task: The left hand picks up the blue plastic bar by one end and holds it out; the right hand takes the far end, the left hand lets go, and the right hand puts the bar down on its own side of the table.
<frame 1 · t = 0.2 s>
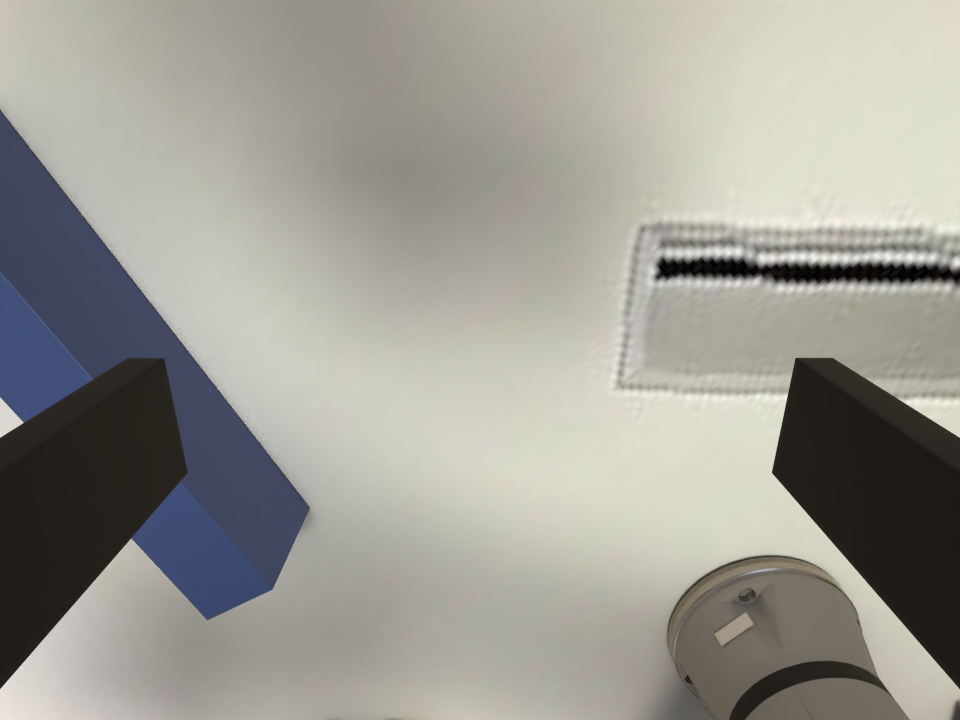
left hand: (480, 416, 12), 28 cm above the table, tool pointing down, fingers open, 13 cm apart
bar: (140, 346, 41), on the table
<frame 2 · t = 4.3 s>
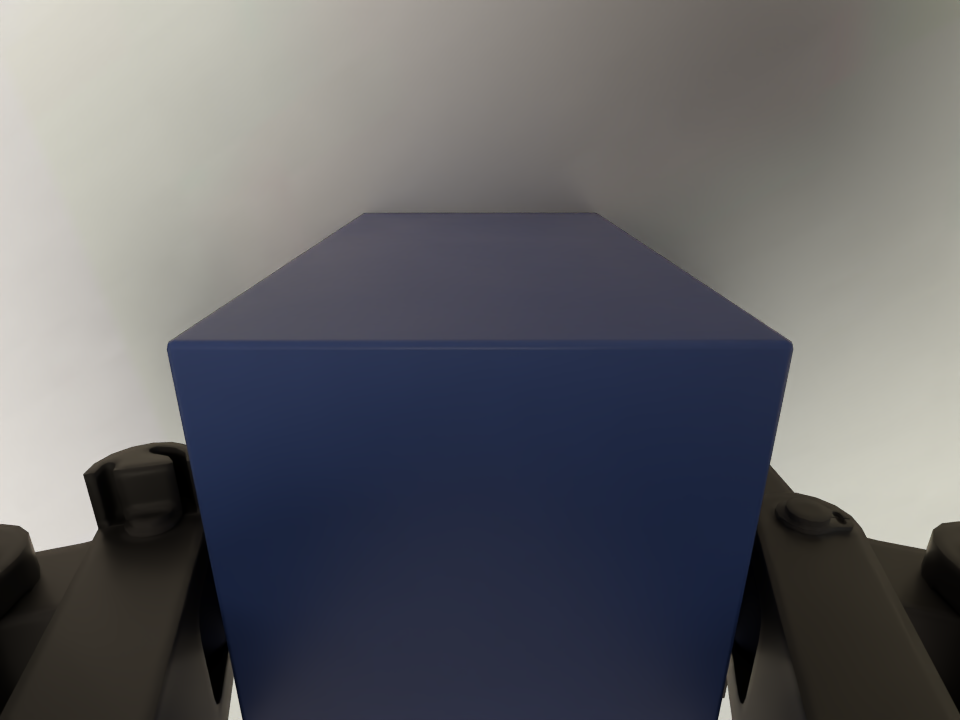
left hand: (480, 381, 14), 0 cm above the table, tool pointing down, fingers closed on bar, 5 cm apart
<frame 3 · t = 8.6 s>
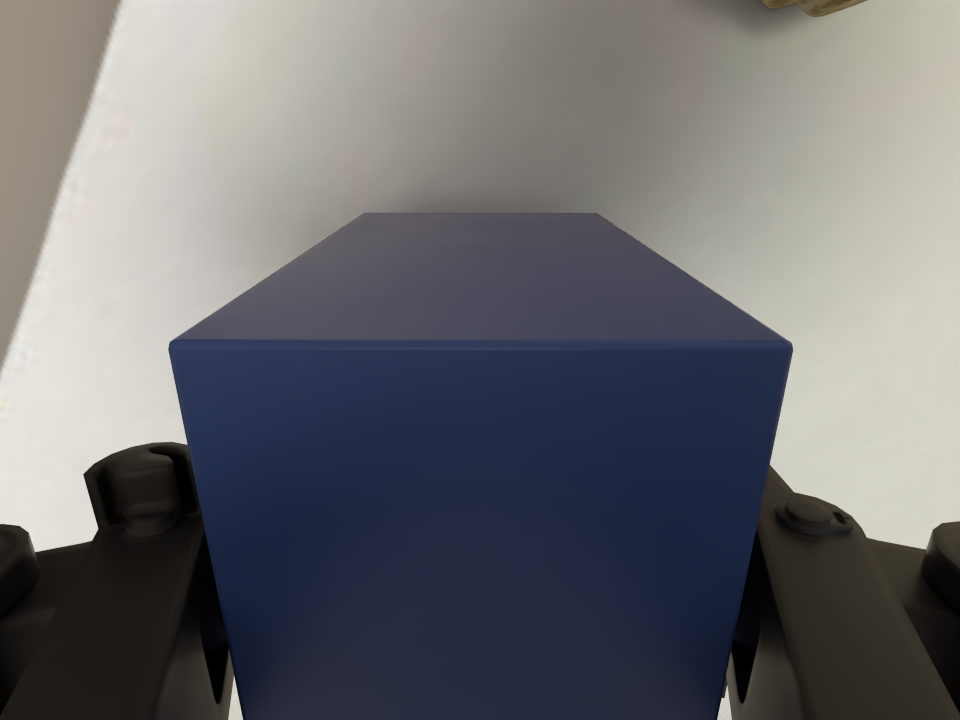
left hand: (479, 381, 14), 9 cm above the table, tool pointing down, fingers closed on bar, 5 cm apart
when the left hand's fingers open (9 cm above the table, at t = 9.2 s): bar stays where it is, held by the right hand.
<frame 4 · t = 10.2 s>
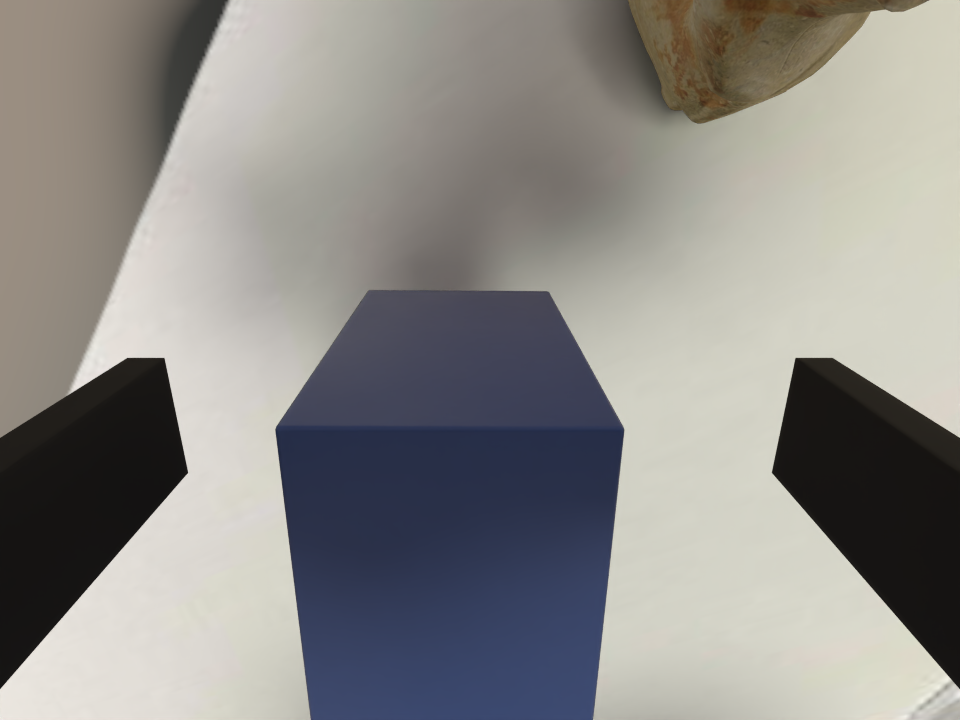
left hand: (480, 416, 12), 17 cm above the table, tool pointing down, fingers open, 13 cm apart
bar: (459, 710, 23), point 11 cm above the table, touching right hand
sculpture: (684, 31, 25), on the table
when the right hand's fingers open (2 cm above the table, at t = 15.3 s): bar drops 2 cm, on the table.
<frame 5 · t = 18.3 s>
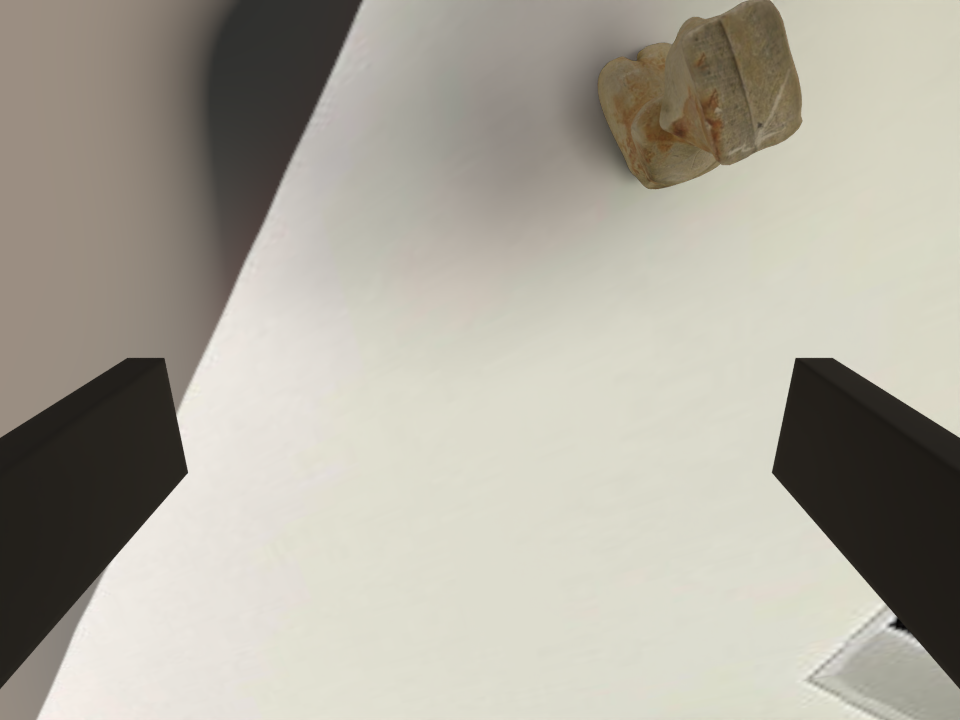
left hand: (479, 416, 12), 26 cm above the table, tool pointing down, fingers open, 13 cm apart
sculpture: (642, 119, 34), on the table
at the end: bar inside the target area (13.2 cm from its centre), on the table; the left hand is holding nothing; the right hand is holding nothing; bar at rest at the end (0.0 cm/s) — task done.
